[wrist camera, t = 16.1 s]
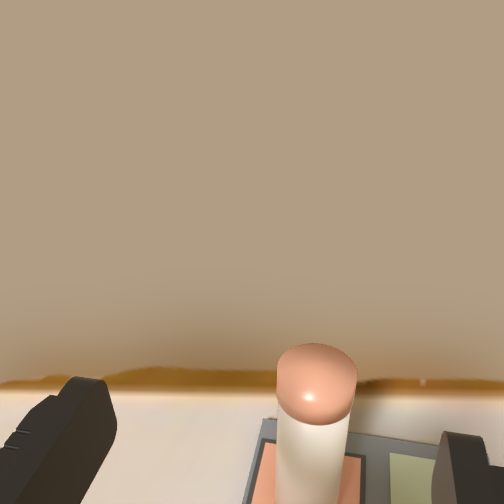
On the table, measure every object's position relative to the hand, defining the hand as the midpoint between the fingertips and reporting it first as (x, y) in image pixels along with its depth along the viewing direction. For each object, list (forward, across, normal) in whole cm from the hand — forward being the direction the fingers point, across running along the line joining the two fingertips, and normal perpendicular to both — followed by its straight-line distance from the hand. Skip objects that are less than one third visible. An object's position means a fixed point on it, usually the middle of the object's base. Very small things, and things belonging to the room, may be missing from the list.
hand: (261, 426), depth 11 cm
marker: (+13, 0, +24) cm, 27 cm away
